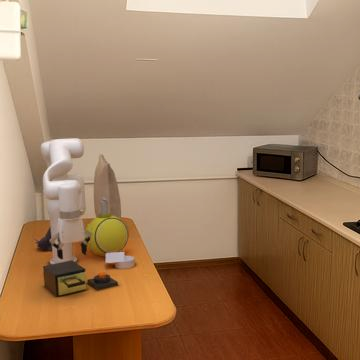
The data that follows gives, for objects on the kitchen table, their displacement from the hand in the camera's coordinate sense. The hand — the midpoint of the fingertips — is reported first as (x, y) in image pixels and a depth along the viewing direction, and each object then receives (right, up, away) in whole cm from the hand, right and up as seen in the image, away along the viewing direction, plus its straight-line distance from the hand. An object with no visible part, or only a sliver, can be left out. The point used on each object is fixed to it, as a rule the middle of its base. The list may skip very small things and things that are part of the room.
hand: (72, 256), depth 221 cm
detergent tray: (-3, -15, +7) cm, 17 cm away
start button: (+8, -11, +14) cm, 20 cm away
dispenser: (-6, -15, +11) cm, 20 cm away
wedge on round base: (+11, -10, +39) cm, 42 cm away
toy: (0, -7, +56) cm, 56 cm away
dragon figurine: (-27, -5, +70) cm, 75 cm away
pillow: (-9, 0, +99) cm, 99 cm away
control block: (+8, -14, +15) cm, 22 cm away
